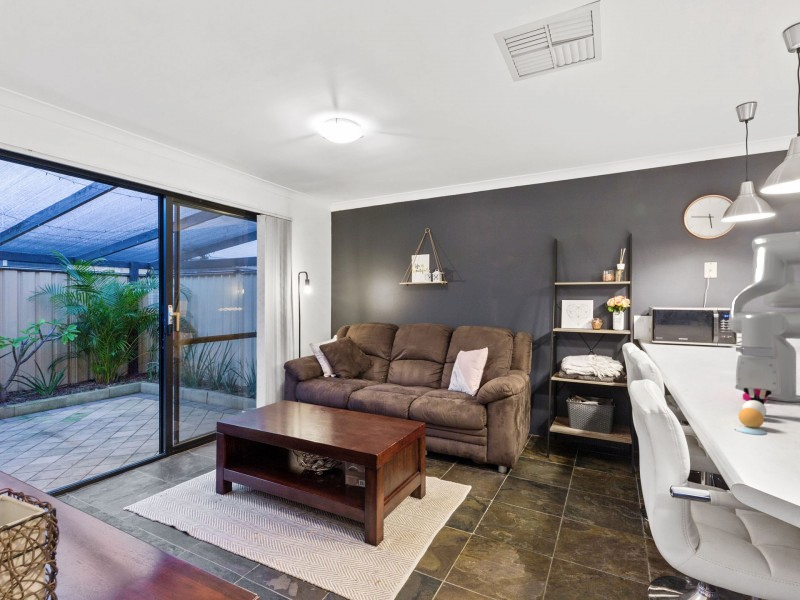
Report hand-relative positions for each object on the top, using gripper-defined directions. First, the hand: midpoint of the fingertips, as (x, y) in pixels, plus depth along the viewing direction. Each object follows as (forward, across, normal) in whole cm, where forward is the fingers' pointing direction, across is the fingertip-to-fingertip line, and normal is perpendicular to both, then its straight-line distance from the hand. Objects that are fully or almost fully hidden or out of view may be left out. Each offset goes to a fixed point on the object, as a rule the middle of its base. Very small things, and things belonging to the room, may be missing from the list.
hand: (757, 410), depth 127 cm
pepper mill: (+2, -3, +22) cm, 22 cm away
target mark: (+2, 0, -21) cm, 21 cm away
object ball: (-1, 0, -17) cm, 17 cm away
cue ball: (-1, 0, -6) cm, 6 cm away
